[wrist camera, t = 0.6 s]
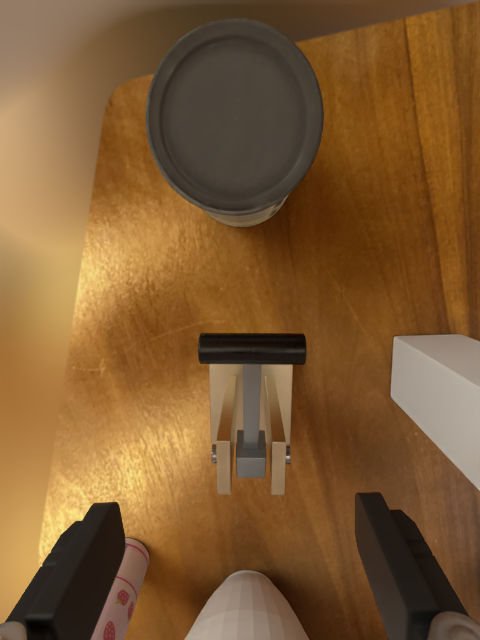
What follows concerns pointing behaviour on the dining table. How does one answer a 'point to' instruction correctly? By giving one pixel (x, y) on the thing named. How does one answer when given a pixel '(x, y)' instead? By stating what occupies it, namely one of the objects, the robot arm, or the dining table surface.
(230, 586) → the vase
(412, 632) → the robot arm
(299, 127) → the coffee can
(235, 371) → the lever bracket
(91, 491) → the dining table surface
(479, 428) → the milk carton
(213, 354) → the lever handle
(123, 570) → the beverage can
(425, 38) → the dining table surface
